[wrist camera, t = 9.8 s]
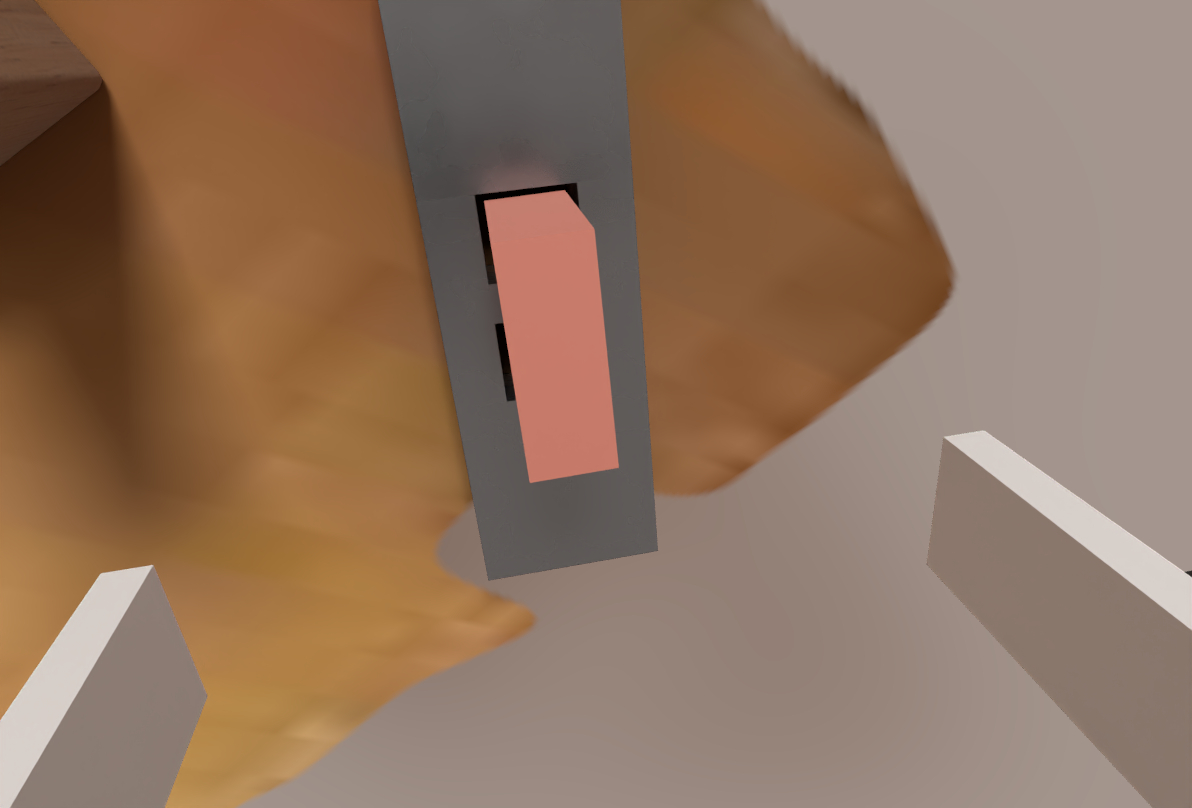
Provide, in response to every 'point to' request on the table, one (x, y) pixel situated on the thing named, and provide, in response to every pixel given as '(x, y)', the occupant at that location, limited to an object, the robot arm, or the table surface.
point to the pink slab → (554, 333)
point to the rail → (469, 287)
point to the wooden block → (37, 75)
